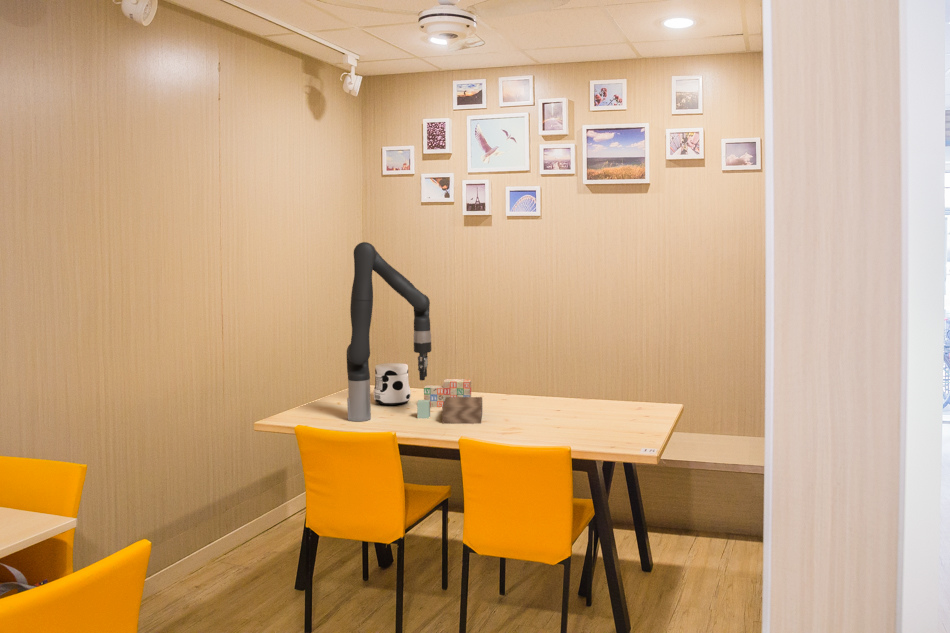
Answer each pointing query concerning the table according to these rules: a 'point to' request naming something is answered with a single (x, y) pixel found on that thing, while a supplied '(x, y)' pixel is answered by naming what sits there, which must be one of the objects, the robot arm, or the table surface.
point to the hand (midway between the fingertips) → (423, 378)
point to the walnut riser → (462, 410)
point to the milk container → (391, 384)
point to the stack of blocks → (447, 391)
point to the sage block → (423, 409)
